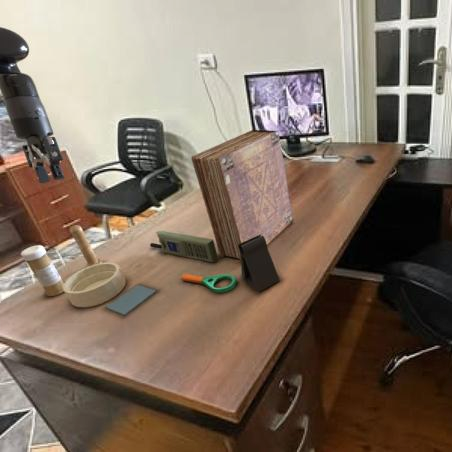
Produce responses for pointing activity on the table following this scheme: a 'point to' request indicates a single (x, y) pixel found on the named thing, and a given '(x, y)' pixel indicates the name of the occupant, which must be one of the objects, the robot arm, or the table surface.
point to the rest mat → (131, 300)
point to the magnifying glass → (214, 279)
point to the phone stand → (257, 263)
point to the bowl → (94, 284)
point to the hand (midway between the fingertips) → (52, 181)
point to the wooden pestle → (84, 246)
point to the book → (244, 189)
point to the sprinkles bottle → (43, 269)
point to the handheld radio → (187, 246)
